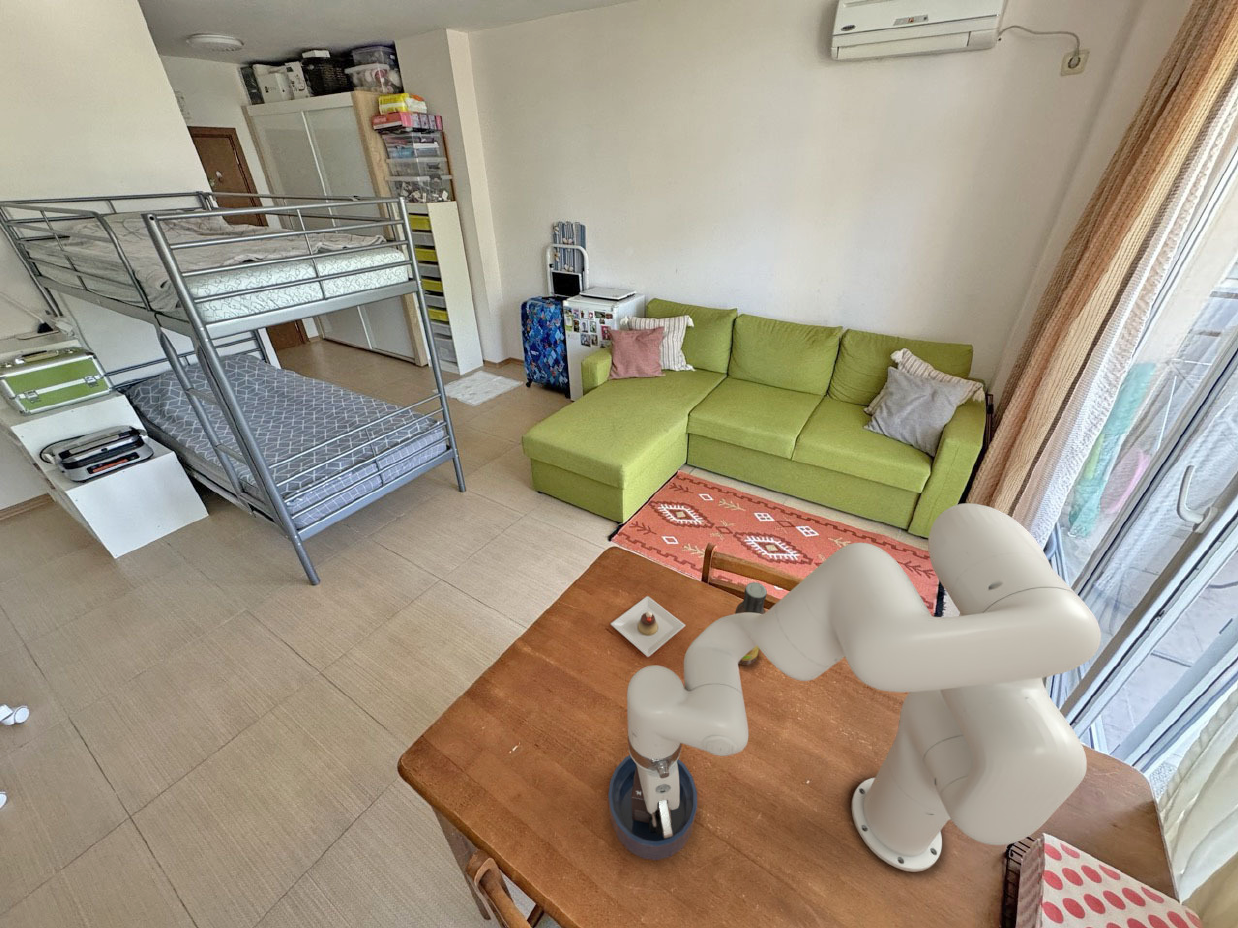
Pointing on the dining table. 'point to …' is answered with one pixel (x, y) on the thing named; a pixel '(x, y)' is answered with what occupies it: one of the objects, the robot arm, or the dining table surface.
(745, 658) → the sauce bottle
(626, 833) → the bowl
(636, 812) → the box
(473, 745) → the dining table surface
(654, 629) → the dessert
